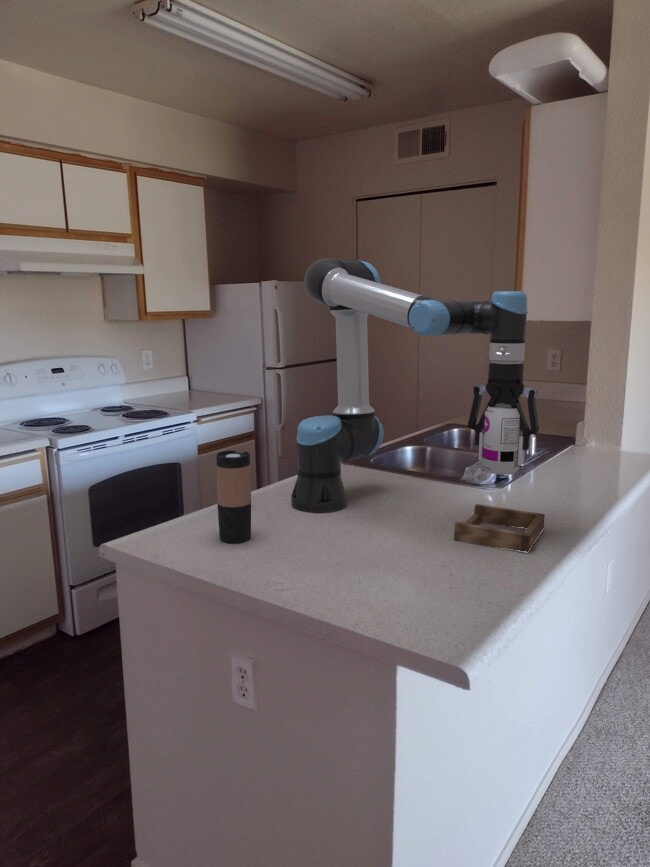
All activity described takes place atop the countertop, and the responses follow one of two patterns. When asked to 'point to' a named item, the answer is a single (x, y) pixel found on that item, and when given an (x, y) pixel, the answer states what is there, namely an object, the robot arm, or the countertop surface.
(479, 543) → the dock bay
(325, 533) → the countertop surface
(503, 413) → the supplement can
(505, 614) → the countertop surface
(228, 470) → the travel mug
